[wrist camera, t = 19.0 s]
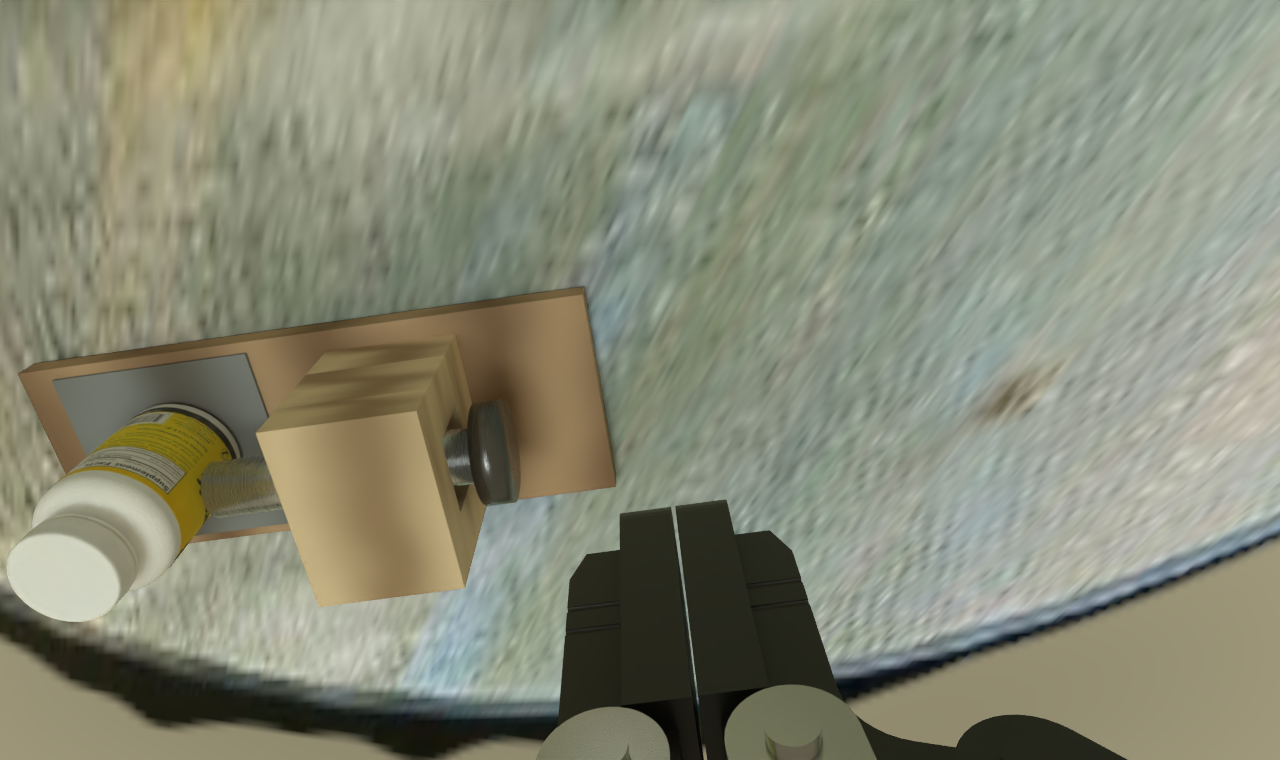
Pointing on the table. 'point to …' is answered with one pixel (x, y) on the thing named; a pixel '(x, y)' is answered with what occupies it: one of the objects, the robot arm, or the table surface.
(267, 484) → the shaft
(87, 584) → the supplement bottle
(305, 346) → the shaft bench
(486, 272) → the table surface
